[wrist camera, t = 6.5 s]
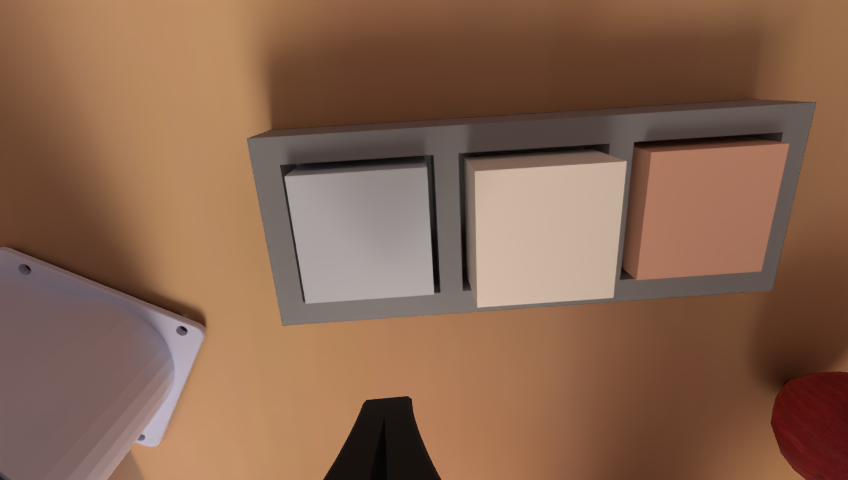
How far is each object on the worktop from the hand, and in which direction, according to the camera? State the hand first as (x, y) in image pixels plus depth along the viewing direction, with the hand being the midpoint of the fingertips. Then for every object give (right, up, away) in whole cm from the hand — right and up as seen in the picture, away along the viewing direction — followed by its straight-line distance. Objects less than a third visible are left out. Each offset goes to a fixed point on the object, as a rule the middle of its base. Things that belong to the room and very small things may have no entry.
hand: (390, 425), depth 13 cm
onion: (+21, -2, +11) cm, 24 cm away
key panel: (+5, +7, +7) cm, 11 cm away
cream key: (+5, +7, +5) cm, 10 cm away
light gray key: (-1, +6, +6) cm, 9 cm away
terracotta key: (+12, +7, +6) cm, 15 cm away
